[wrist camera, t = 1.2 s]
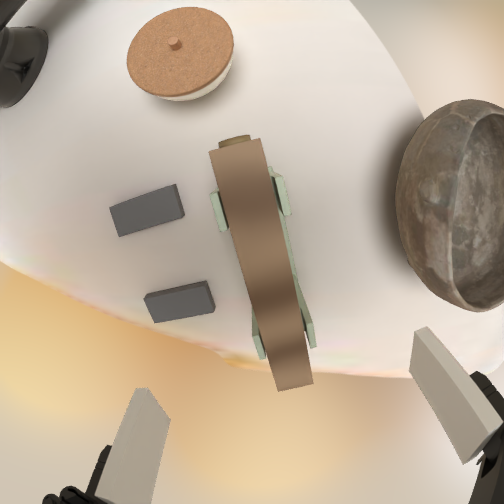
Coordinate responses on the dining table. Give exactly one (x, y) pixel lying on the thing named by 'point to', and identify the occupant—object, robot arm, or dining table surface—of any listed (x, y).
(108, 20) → the dining table surface
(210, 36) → the lidded jar
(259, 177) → the rail
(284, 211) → the rack
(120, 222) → the rests
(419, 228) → the bowl
